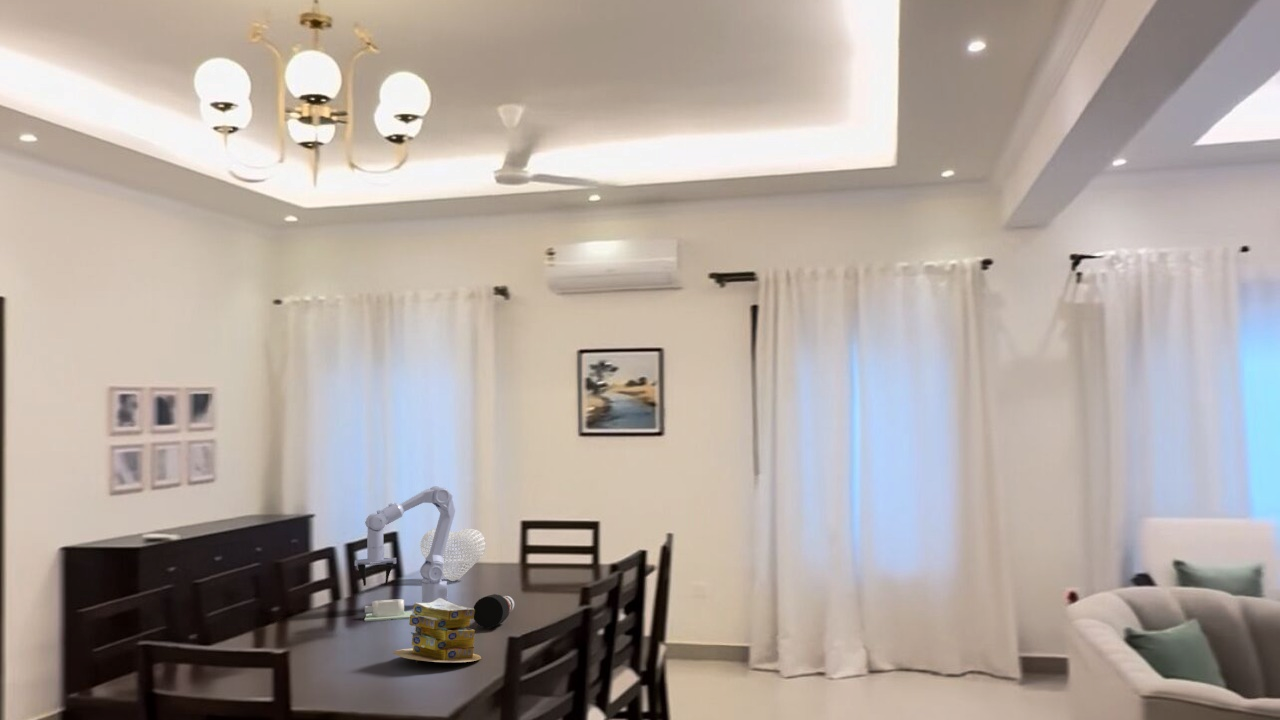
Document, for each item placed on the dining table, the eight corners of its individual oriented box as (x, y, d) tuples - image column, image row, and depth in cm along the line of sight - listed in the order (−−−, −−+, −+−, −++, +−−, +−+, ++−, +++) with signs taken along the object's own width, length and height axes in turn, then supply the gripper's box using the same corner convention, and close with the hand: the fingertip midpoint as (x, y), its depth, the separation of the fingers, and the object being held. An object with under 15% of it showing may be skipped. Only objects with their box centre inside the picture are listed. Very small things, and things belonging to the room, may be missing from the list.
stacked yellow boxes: (452, 646, 297) (452, 591, 298) (497, 661, 279) (496, 602, 280) (378, 661, 281) (378, 603, 282) (420, 678, 262) (420, 615, 263)
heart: (490, 577, 422) (489, 526, 423) (480, 584, 406) (479, 530, 408) (427, 577, 425) (427, 526, 426) (415, 584, 409) (415, 531, 411)
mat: (412, 612, 350) (412, 611, 350) (411, 618, 340) (411, 616, 340) (366, 615, 346) (366, 613, 346) (364, 621, 337) (364, 619, 337)
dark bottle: (514, 622, 351) (527, 596, 352) (494, 633, 318) (508, 605, 319) (490, 609, 353) (503, 584, 354) (467, 619, 319) (481, 591, 320)
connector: (404, 613, 346) (404, 598, 347) (404, 615, 343) (403, 601, 343) (365, 615, 344) (365, 601, 344) (364, 617, 340) (364, 603, 340)
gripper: (396, 544, 359) (396, 581, 358) (355, 546, 356) (355, 583, 355) (395, 547, 352) (395, 584, 351) (354, 549, 349) (354, 587, 348)
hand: (375, 584), depth 352 cm, fingers open, 7 cm apart
